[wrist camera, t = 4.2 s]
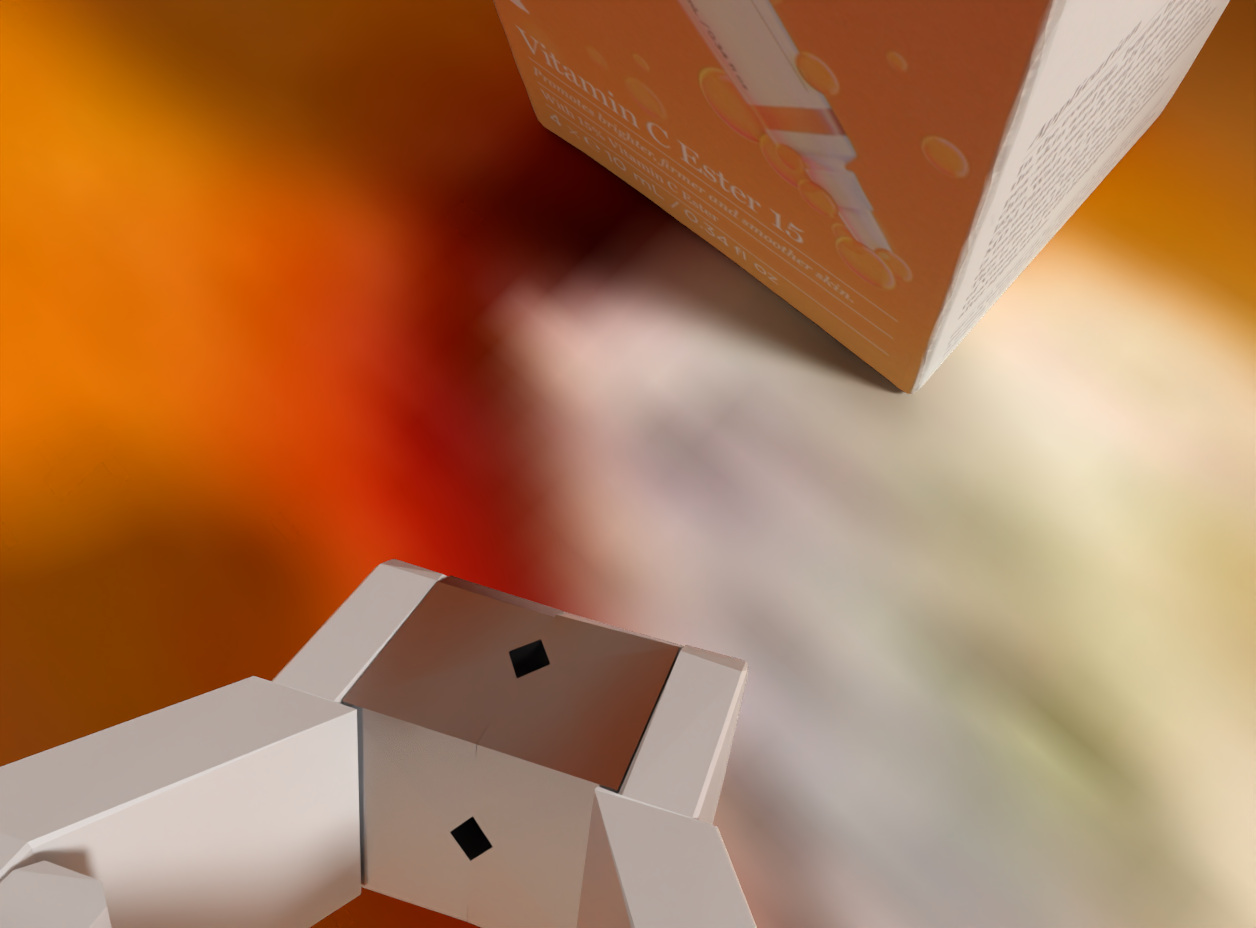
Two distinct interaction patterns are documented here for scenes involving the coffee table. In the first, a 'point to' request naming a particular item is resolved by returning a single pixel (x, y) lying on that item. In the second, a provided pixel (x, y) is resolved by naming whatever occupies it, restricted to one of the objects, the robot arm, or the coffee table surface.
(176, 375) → the coffee table surface
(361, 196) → the coffee table surface
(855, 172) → the small box
